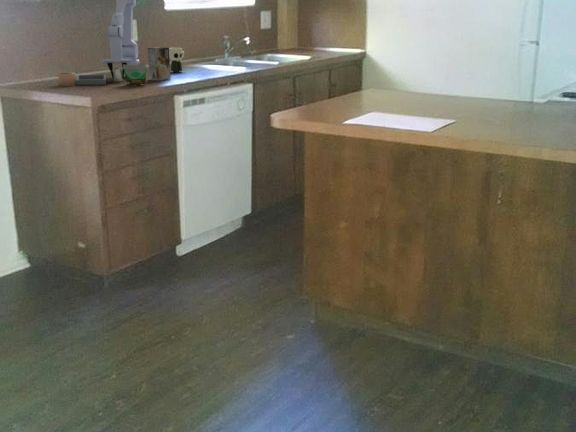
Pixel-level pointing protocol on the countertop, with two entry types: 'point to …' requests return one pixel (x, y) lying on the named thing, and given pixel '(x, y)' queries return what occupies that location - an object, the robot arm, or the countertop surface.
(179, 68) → the big headed figurine
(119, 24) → the robot arm
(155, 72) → the coffee box
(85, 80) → the tray
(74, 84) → the pot
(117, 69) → the cell
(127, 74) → the food container
